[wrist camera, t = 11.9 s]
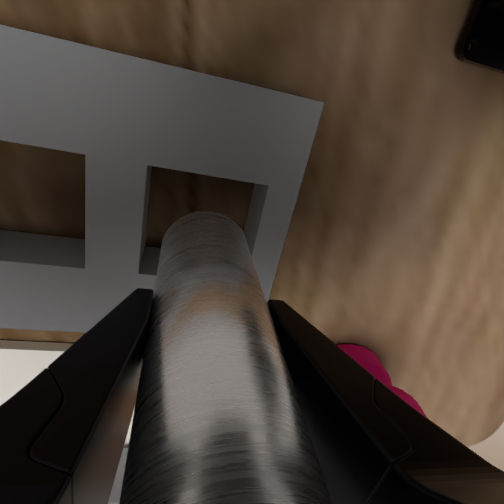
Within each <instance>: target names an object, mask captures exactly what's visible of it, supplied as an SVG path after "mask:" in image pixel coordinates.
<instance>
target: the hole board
mask: <svg viewBox="0 0 504 504" xmlns="http://www.w3.org/2000/svg"><path fill="white" fill-rule="evenodd" d="M323 106H324V102H320V101H316V100H312V99H308V98H304V97H300V96H296V95H292V94H288V93H284V92H279V91H275V90H271V89H267V88H263V87H259V86H254V85H250V84H246V83H242V82H238V81H234V80H230V79H225V78H221V77H217V76H213V75H209V74H205V73H201V72H196V71H192V70H188V69H184V68H180V67H176V66H171V65H167V64H163V63H159V62H155V61H151V60H147V59H142V58H138V57H134V56H130V55H126V54H122V53H118V52H113V51H109V50H105V49H101V48H97V47H93V46H88V45H84V44H80V43H76V42H72V41H68V40H64V39H59V38H55V37H51V36H47V35H43V34H39V33H35V32H30V31H26V30H22V29H18V28H14V27H10V26H6V25H1V24H0V140H2V141H8V142H14V143H20V144H26V145H31V146H37V147H43V148H49V149H55V150H61V151H67V152H73V153H79V154H84V155H85V239H78V238H69V237H61V236H52V235H43V234H35V233H26V232H17V231H8V230H0V328H9V329H27V330H45V331H64V332H82V333H86V332H88V331H89V330H90V329H91V328H92V327H93V326H94V325H95V324H97V323H98V322H99V321H100V320H101V319H102V318H103V317H105V316H106V315H107V314H108V313H109V312H110V311H111V310H113V309H114V308H115V307H116V306H117V305H118V304H119V303H121V302H122V301H123V300H124V299H125V298H126V297H127V296H129V295H130V294H131V293H132V292H133V291H134V290H135V289H137V288H145V289H152V290H153V291H154V287H155V281H156V275H157V269H158V263H159V257H160V251H161V248H157V247H148V246H145V242H146V230H147V218H148V207H149V195H150V184H151V172H152V166H155V167H161V168H167V169H173V170H179V171H185V172H191V173H196V174H202V175H208V176H214V177H220V178H226V179H232V180H238V181H244V182H249V183H254V187H253V192H252V196H251V201H250V205H249V209H248V214H247V218H246V223H245V227H244V232H243V233H244V235H245V238H246V241H247V244H248V247H249V250H250V253H251V256H252V259H253V262H254V265H255V268H256V271H257V275H258V278H259V281H260V284H261V287H262V290H263V293H264V296H265V299H266V302H267V301H268V299H269V295H270V292H271V288H272V285H273V281H274V278H275V274H276V271H277V267H278V264H279V260H280V257H281V253H282V250H283V246H284V243H285V239H286V236H287V232H288V229H289V225H290V222H291V218H292V215H293V211H294V208H295V204H296V201H297V197H298V194H299V190H300V187H301V183H302V180H303V176H304V173H305V169H306V165H307V162H308V158H309V155H310V151H311V148H312V144H313V141H314V137H315V134H316V130H317V127H318V123H319V120H320V116H321V113H322V109H323Z"/></svg>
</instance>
